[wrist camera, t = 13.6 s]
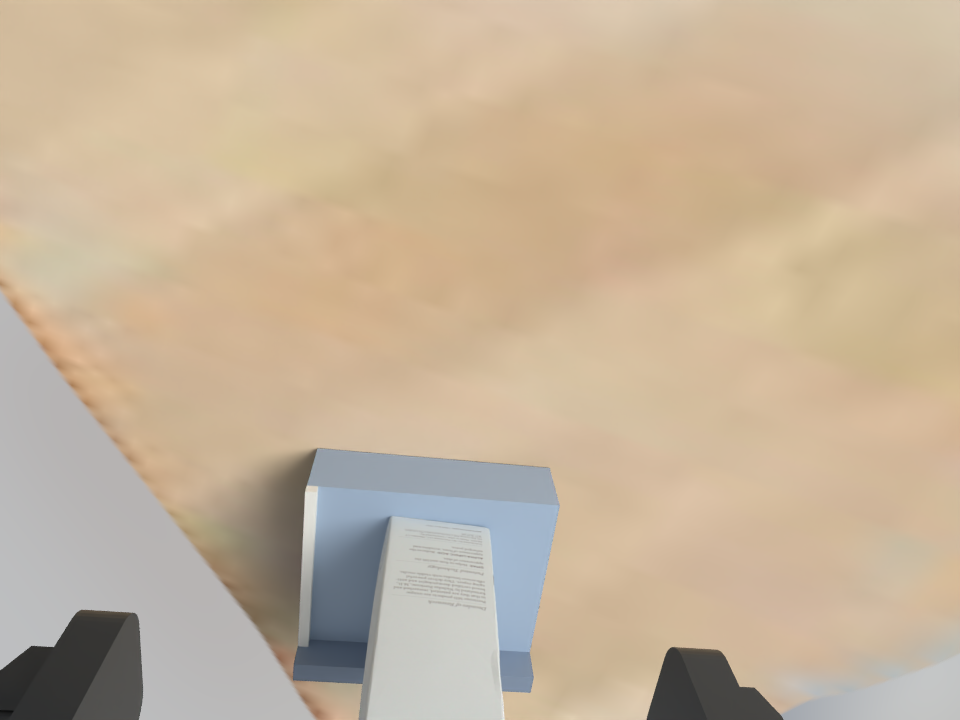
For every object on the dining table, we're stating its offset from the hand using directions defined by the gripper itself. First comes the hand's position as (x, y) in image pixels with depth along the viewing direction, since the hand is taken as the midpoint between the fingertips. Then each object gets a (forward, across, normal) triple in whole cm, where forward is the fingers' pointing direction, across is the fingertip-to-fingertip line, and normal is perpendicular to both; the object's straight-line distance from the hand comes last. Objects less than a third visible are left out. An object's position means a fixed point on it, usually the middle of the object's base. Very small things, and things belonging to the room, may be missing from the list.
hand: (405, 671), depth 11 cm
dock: (+30, -2, +20) cm, 36 cm away
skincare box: (+26, -2, +19) cm, 33 cm away
